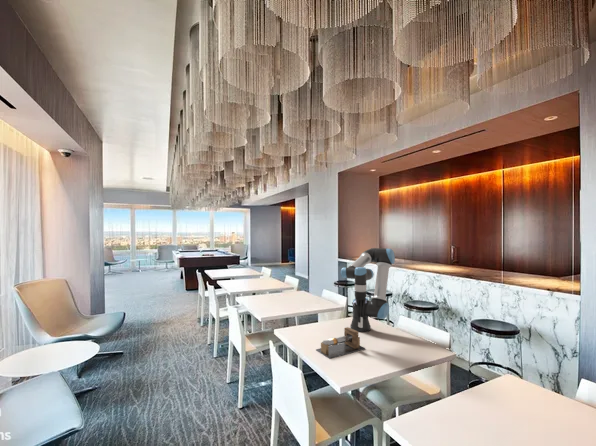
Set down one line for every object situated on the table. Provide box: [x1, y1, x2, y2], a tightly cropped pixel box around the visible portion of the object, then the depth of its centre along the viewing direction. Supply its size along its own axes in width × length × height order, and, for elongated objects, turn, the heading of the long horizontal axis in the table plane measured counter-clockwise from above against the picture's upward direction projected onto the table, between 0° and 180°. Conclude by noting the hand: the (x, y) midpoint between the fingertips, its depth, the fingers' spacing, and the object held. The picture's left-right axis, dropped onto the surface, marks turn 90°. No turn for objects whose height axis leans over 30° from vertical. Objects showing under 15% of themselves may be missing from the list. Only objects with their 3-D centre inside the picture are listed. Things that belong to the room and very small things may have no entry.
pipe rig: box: [315, 335, 366, 359], centre depth 183 cm, size 28×14×8 cm, turn 121°
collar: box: [343, 326, 359, 349], centre depth 187 cm, size 3×10×10 cm, turn 31°
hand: (360, 327), depth 191 cm, fingers closed
